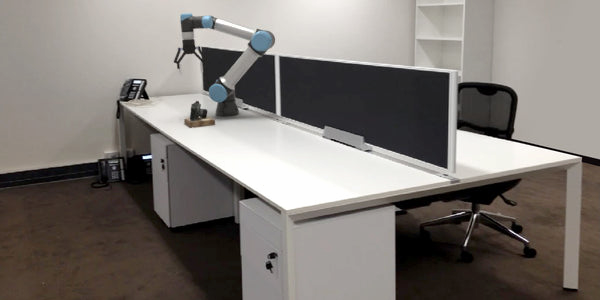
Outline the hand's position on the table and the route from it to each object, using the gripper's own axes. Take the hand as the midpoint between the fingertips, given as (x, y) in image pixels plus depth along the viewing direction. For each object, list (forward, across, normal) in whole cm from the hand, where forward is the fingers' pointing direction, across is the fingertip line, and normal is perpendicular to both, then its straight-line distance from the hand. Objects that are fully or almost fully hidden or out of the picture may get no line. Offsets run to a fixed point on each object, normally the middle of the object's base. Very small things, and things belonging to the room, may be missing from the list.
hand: (191, 73), depth 374 cm
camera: (+26, +3, +22) cm, 34 cm away
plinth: (+29, +3, +23) cm, 37 cm away
